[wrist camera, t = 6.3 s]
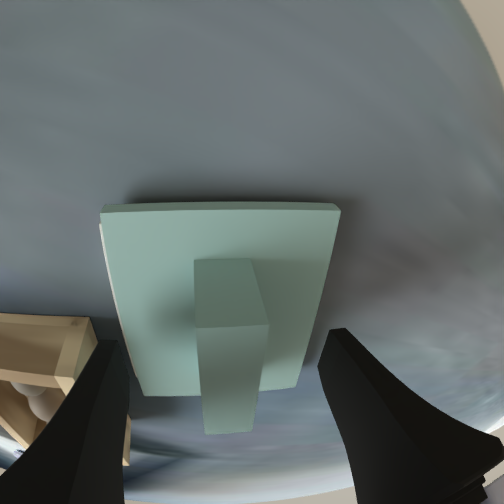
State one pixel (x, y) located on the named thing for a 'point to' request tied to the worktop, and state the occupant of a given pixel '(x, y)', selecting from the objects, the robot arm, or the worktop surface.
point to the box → (41, 370)
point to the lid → (219, 297)
